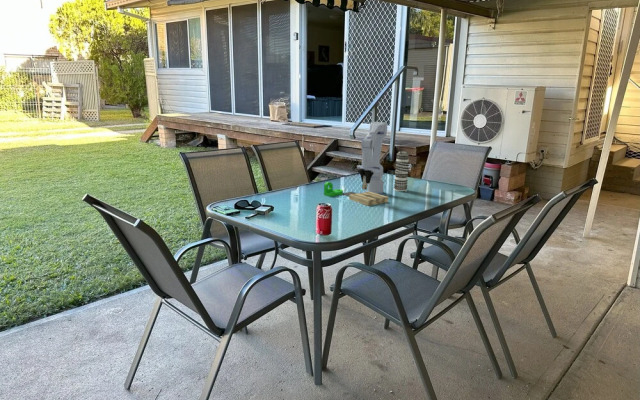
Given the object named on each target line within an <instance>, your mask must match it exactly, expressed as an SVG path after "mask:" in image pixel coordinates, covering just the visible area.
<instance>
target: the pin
mask: <svg viewBox="0 0 640 400" xmlns="http://www.w3.org/2000/svg"><path fill="white" fill-rule="evenodd" d="M361 187H362V190H365V191H368V183H366V175H363V182H362V186H361Z"/></svg>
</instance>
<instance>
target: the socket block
mask: <svg viewBox="0 0 640 400" xmlns="http://www.w3.org/2000/svg"><path fill="white" fill-rule="evenodd" d="M356 193H357V192H356ZM348 199H349V200H350V201H353V202H355V203H358V204H361V205H364V206H374V205H380V204H385V203H388V202H389V196H386V195H383V194H381V193H378V194H376V193H373V192H365V191H364V192H358V193H357V194H351V195H349V197H348Z"/></svg>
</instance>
